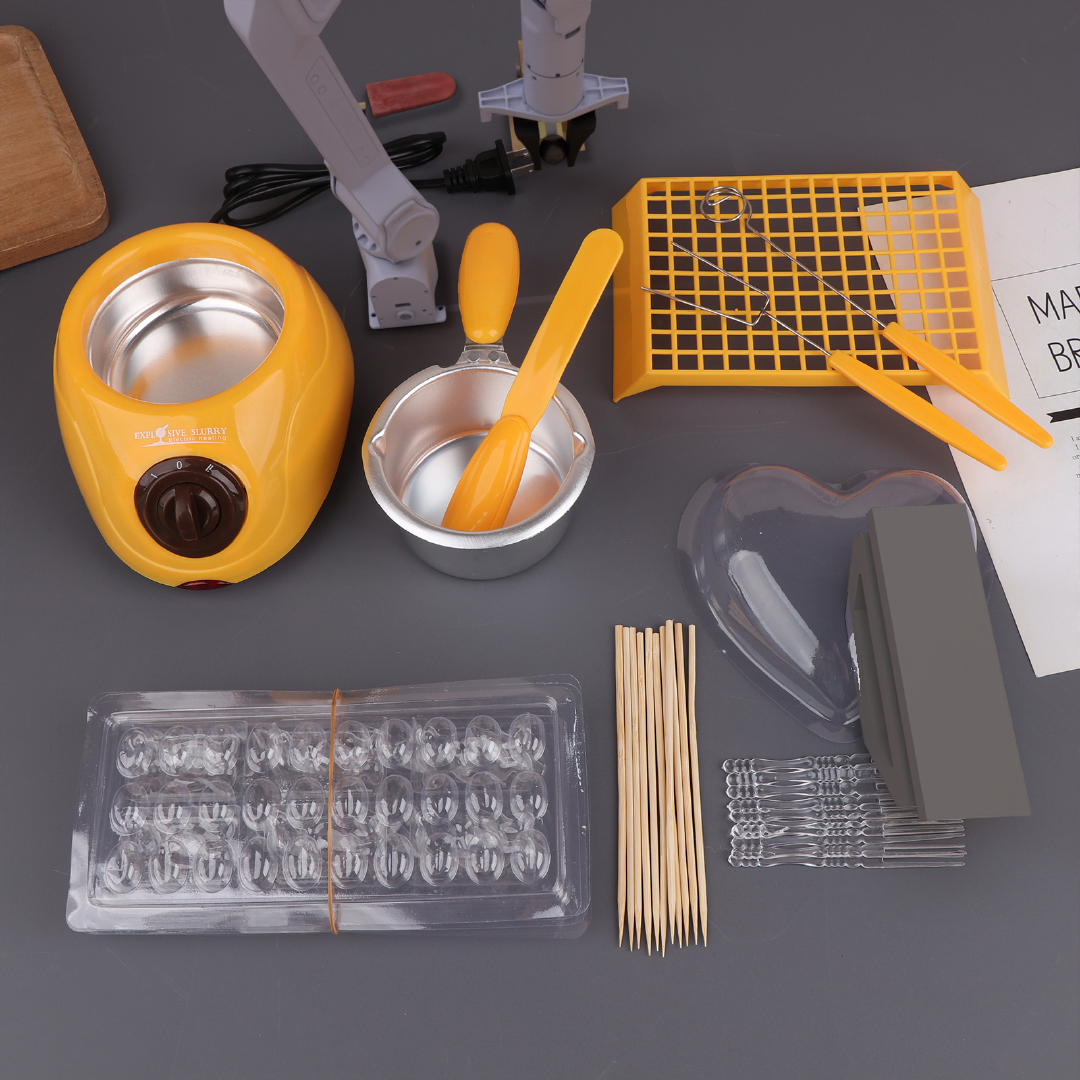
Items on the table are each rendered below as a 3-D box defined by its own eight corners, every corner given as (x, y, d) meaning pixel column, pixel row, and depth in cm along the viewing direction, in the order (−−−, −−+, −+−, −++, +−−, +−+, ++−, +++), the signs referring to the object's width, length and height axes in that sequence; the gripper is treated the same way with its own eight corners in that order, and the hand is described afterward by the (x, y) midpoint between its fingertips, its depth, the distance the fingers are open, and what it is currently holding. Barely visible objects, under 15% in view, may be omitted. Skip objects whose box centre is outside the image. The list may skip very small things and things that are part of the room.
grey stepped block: (833, 548, 85) (871, 507, 74) (915, 544, 85) (965, 503, 74) (876, 823, 77) (927, 820, 66) (967, 818, 77) (1031, 815, 66)
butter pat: (562, 152, 99) (563, 136, 96) (536, 154, 98) (535, 138, 96) (558, 123, 100) (559, 107, 98) (532, 126, 100) (531, 109, 98)
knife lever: (568, 169, 94) (569, 154, 91) (540, 171, 94) (540, 157, 91) (556, 63, 95) (557, 45, 92) (528, 66, 95) (528, 48, 92)
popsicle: (322, 92, 101) (450, 66, 102) (325, 104, 103) (452, 78, 104) (329, 123, 100) (459, 95, 101) (332, 134, 101) (461, 107, 102)
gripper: (625, 14, 83) (616, 124, 96) (471, 28, 83) (482, 137, 96) (636, 72, 81) (625, 177, 94) (477, 87, 81) (488, 191, 94)
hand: (553, 161), depth 95 cm, fingers closed on knife lever, 3 cm apart
